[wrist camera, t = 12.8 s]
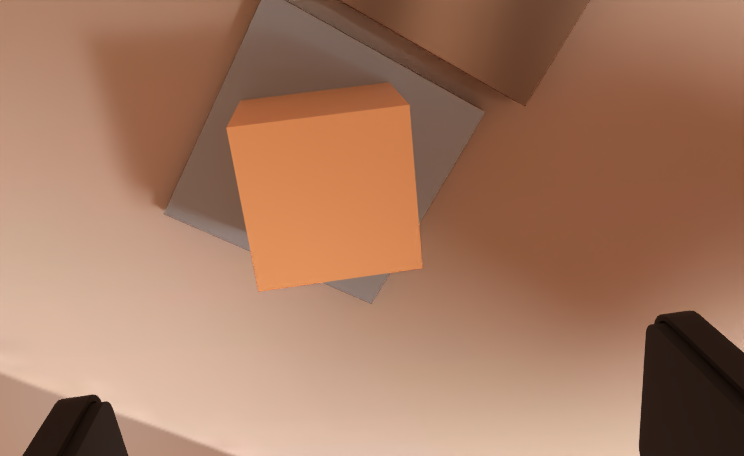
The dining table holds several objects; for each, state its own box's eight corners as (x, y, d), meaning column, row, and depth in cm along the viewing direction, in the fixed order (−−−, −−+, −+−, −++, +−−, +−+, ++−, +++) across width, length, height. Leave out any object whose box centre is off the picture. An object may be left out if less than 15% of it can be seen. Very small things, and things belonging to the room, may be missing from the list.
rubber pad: (481, 109, 26) (485, 112, 26) (370, 297, 29) (371, 303, 28) (266, -11, 24) (265, -11, 23) (166, 209, 26) (163, 213, 26)
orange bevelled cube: (389, 82, 25) (409, 104, 20) (401, 219, 27) (422, 268, 22) (240, 100, 24) (226, 127, 20) (265, 238, 27) (258, 291, 22)
